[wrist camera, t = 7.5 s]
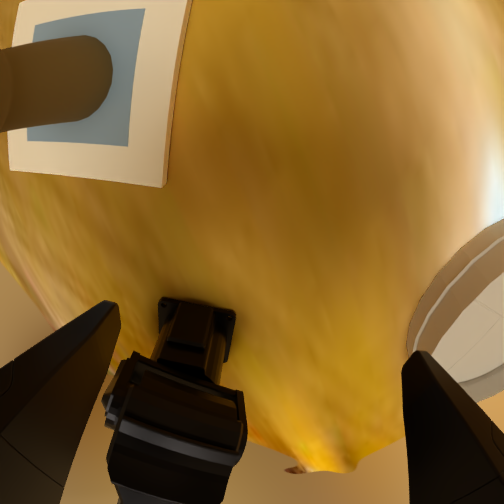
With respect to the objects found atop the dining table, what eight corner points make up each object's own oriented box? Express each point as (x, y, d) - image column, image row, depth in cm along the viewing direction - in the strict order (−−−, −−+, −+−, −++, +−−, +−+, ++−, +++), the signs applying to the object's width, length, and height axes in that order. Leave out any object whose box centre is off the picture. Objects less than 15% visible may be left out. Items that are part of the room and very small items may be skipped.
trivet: (166, 183, 20) (161, 188, 19) (17, 166, 19) (9, 170, 18) (197, -23, 12) (193, -28, 11) (27, 3, 12) (19, 2, 11)
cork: (31, 100, 15) (-93, 145, 6) (66, 23, 13) (-68, 23, 3) (87, 137, 17) (-41, 206, 8) (130, 55, 14) (-11, 57, 5)
